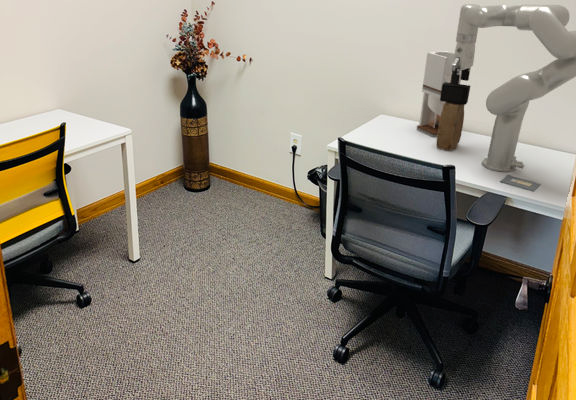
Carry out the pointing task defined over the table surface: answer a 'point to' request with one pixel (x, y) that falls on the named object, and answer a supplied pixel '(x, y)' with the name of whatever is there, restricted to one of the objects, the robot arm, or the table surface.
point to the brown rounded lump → (450, 126)
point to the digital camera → (455, 93)
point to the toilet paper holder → (434, 90)
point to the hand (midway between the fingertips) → (459, 82)
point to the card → (520, 183)
